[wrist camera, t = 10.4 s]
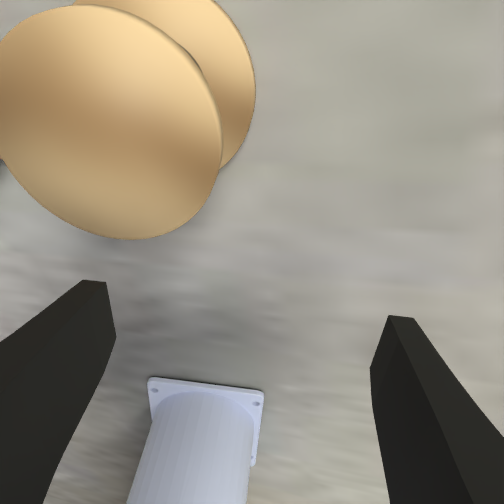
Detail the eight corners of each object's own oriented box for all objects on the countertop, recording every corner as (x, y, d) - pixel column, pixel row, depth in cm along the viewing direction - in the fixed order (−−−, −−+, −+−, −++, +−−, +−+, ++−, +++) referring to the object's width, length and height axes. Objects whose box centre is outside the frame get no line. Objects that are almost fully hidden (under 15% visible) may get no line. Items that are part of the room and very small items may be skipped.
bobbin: (249, 185, 20) (231, 263, 15) (82, 167, 20) (10, 238, 15) (263, -18, 15) (243, -2, 10) (43, -37, 15) (-79, -31, 10)
